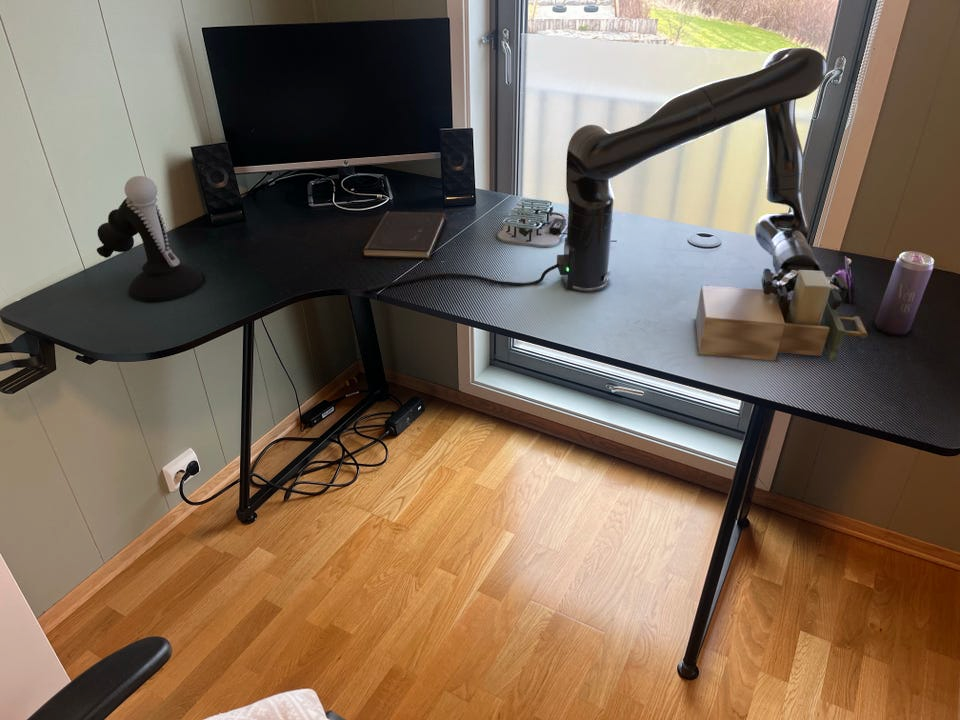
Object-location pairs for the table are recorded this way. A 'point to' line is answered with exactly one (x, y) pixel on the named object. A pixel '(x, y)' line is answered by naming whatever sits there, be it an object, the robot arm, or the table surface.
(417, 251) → the hardcover book
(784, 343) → the drawer
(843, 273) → the purple figurine
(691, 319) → the table surface
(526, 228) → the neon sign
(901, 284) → the beverage can
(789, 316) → the cosmetic box
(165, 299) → the sculpture
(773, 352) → the cabinet
